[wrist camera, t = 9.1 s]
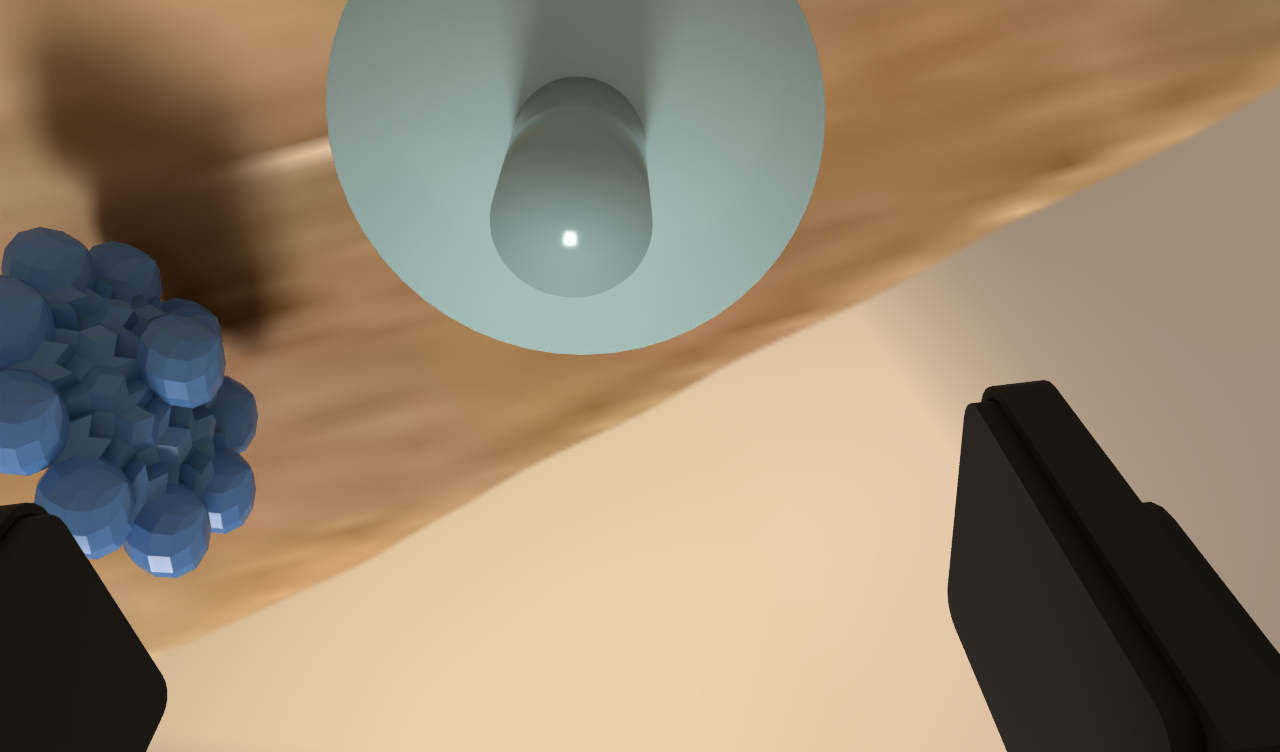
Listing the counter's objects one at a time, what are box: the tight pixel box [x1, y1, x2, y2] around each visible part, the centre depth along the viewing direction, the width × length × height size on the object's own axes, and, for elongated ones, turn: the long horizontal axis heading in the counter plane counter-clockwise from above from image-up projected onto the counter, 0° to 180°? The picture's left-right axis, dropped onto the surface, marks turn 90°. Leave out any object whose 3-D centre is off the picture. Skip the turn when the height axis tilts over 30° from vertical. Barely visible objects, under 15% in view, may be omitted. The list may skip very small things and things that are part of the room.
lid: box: [326, 0, 825, 355], centre depth 20 cm, size 12×12×6 cm
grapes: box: [0, 227, 258, 578], centre depth 30 cm, size 12×7×12 cm, turn 31°
